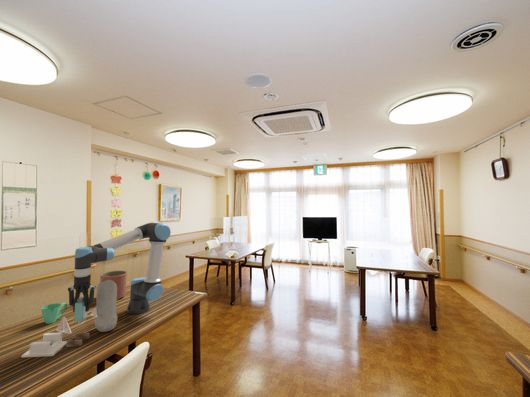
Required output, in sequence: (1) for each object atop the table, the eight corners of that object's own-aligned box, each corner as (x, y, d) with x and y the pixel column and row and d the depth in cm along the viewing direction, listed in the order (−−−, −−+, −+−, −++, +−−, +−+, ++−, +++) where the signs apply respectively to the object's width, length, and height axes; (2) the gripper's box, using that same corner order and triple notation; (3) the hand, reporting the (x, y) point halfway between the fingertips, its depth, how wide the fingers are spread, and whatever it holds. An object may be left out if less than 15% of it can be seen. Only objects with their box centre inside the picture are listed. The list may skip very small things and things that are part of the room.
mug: (48, 326, 150) (49, 310, 151) (36, 324, 152) (37, 308, 153) (71, 316, 165) (72, 301, 165) (60, 314, 167) (61, 300, 167)
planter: (106, 293, 208) (108, 270, 209) (129, 293, 210) (131, 270, 211) (93, 302, 190) (95, 276, 190) (119, 302, 192) (120, 276, 192)
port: (68, 342, 134) (69, 331, 134) (52, 355, 122) (53, 343, 122) (39, 344, 132) (40, 332, 132) (21, 357, 120) (22, 345, 120)
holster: (89, 337, 139) (89, 332, 140) (80, 346, 131) (80, 340, 131) (76, 338, 138) (76, 333, 138) (66, 347, 130) (66, 341, 130)
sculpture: (123, 326, 154) (126, 278, 155) (109, 335, 142) (112, 284, 144) (101, 324, 156) (104, 277, 157) (86, 333, 144) (89, 282, 145)
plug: (86, 317, 138) (87, 296, 139) (81, 321, 133) (82, 299, 134) (80, 317, 138) (80, 296, 138) (74, 321, 133) (75, 299, 133)
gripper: (102, 273, 141) (100, 313, 141) (70, 273, 139) (68, 314, 138) (95, 277, 134) (93, 319, 133) (61, 277, 131) (59, 321, 131)
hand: (80, 317), depth 136 cm, fingers closed on plug, 4 cm apart
